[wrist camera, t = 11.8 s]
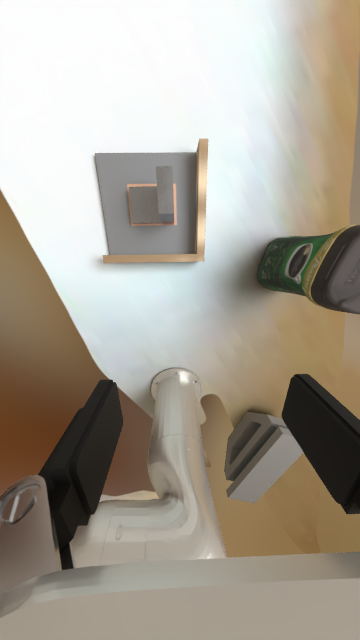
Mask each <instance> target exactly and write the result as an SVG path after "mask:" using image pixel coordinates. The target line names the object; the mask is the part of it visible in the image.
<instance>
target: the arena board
mask: <svg viewBox="0 0 360 640" xmlns="http://www.w3.org/2000/svg"><path fill="white" fill-rule="evenodd" d="M196 154H197V153H95V159H96V165H97V172H98V179H99V185H100V192H101V198H102V205H103V212H104V218H105V225H106V232H107V238H108V245H109V252H110V255H158V254H195V221H196ZM157 166H172V173H173V195H174V222H175V223H167V224H133V222H132V214H131V205H130V196H129V187H142V186H157V179H156V167H157Z"/></svg>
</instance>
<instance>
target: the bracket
mask: <svg viewBox="0 0 360 640" xmlns="http://www.w3.org/2000/svg"><path fill="white" fill-rule="evenodd" d="M156 179H157V186H142V187H129V196H130V205H131V214H132V222H133V224H167V223H175V222H174V195H173V173H172V166H157V167H156Z"/></svg>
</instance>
